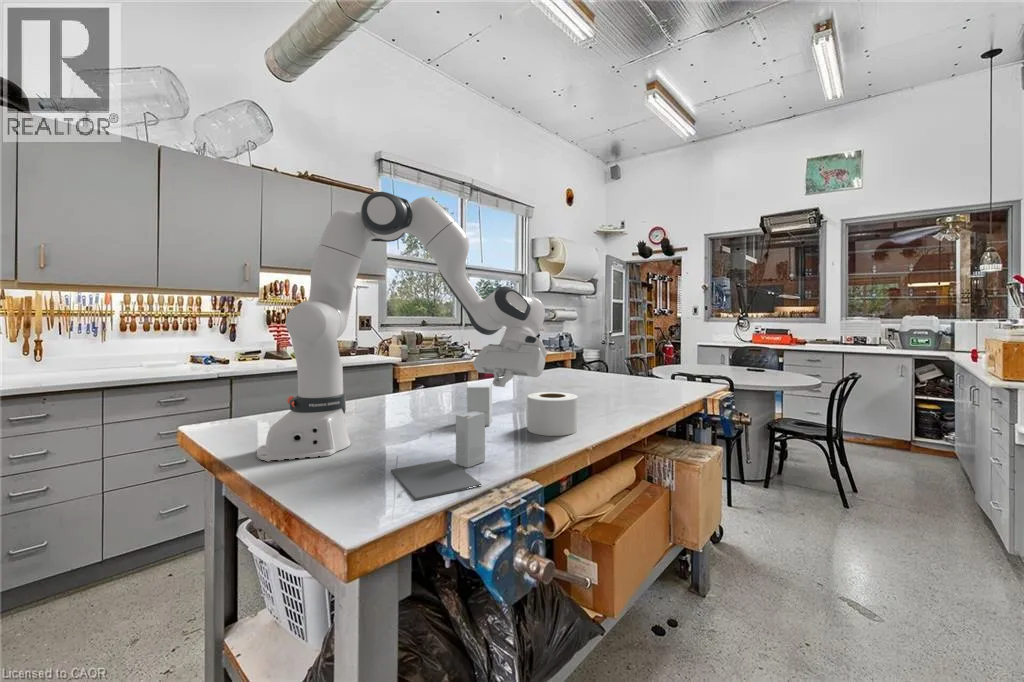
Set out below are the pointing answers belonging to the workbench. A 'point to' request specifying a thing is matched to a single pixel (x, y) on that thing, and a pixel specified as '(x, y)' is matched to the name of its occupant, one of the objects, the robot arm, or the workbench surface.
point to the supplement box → (480, 400)
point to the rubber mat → (433, 479)
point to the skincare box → (470, 438)
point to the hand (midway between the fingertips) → (498, 385)
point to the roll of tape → (552, 413)
